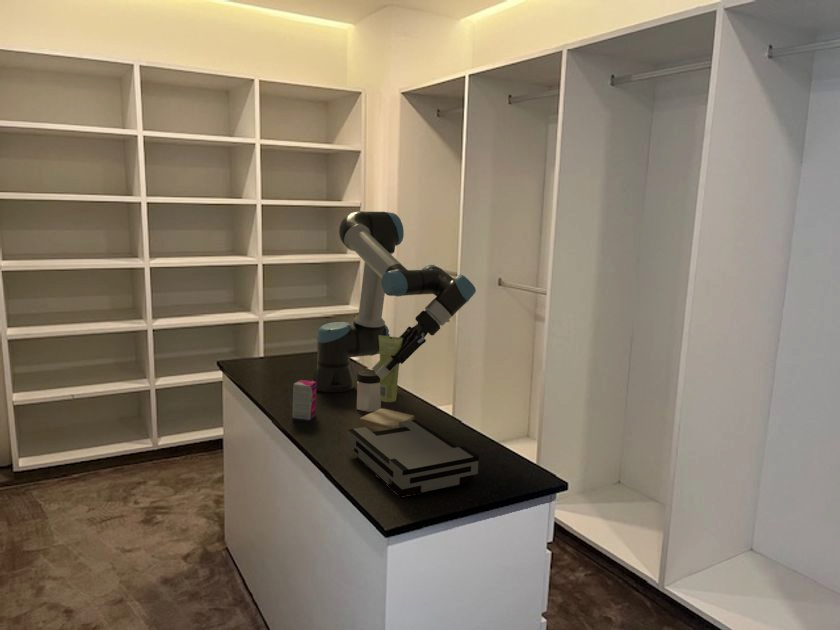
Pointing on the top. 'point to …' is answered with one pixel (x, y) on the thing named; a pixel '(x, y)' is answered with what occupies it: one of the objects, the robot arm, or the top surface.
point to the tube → (390, 381)
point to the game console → (413, 458)
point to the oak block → (383, 420)
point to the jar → (368, 391)
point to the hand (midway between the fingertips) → (376, 373)
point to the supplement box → (304, 400)
